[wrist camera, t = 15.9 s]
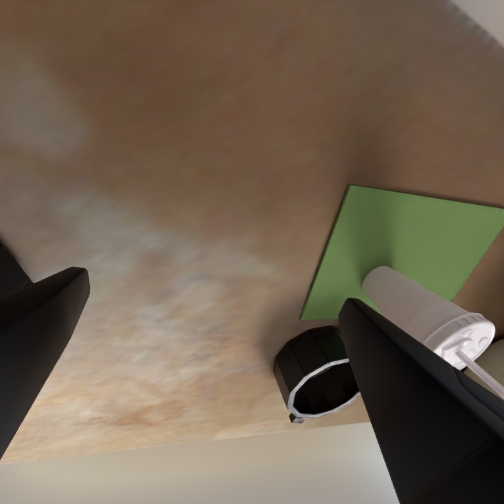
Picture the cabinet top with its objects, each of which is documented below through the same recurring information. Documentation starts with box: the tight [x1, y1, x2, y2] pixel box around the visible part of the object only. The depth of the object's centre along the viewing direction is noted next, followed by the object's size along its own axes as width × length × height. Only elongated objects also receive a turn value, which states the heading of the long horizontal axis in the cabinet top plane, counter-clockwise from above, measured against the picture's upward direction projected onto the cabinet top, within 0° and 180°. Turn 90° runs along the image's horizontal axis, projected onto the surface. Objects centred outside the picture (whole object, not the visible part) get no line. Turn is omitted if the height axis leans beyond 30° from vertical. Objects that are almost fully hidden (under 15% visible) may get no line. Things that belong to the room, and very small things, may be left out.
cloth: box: [300, 184, 504, 321], centre depth 28 cm, size 22×15×1 cm
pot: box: [274, 326, 361, 423], centre depth 31 cm, size 10×13×4 cm
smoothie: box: [362, 266, 504, 399], centre depth 22 cm, size 6×6×14 cm
